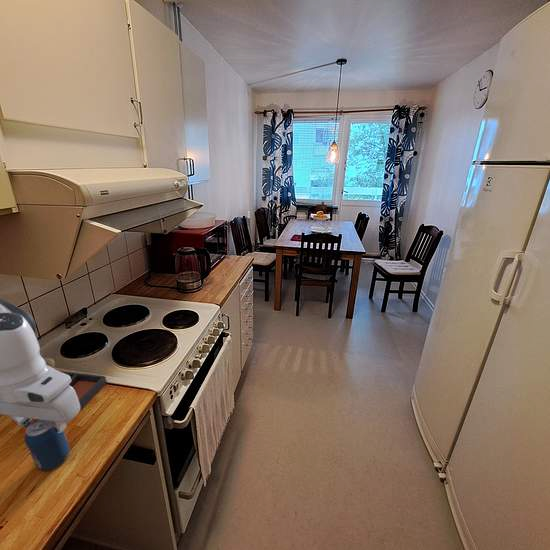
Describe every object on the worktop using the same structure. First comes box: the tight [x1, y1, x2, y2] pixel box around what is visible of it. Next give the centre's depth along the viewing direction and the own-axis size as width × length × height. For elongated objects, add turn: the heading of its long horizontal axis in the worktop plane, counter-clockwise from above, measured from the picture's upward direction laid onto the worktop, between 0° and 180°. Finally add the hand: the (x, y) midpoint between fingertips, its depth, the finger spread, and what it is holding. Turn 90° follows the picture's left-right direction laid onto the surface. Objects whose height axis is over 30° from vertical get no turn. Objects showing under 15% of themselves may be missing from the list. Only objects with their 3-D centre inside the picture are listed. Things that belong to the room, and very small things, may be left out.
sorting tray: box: [56, 369, 108, 411], centre depth 92 cm, size 20×12×3 cm, turn 82°
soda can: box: [23, 419, 71, 472], centre depth 70 cm, size 7×7×12 cm
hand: (43, 427), depth 68 cm, fingers open, 8 cm apart
